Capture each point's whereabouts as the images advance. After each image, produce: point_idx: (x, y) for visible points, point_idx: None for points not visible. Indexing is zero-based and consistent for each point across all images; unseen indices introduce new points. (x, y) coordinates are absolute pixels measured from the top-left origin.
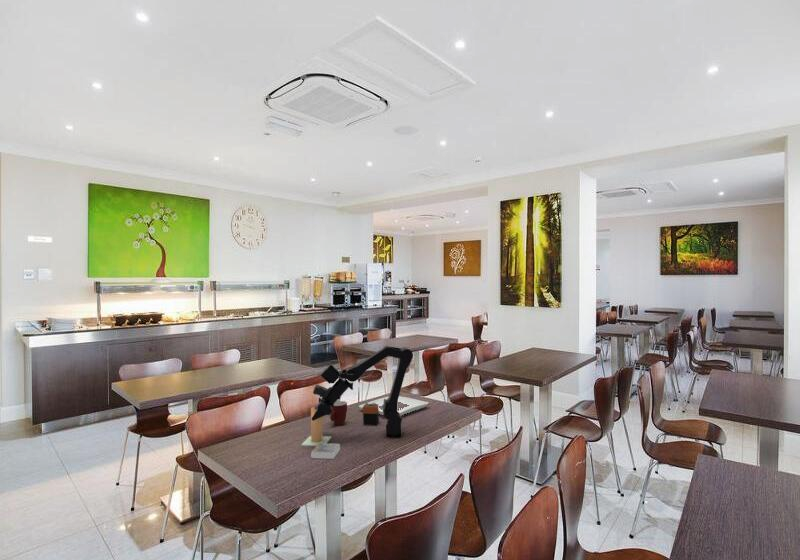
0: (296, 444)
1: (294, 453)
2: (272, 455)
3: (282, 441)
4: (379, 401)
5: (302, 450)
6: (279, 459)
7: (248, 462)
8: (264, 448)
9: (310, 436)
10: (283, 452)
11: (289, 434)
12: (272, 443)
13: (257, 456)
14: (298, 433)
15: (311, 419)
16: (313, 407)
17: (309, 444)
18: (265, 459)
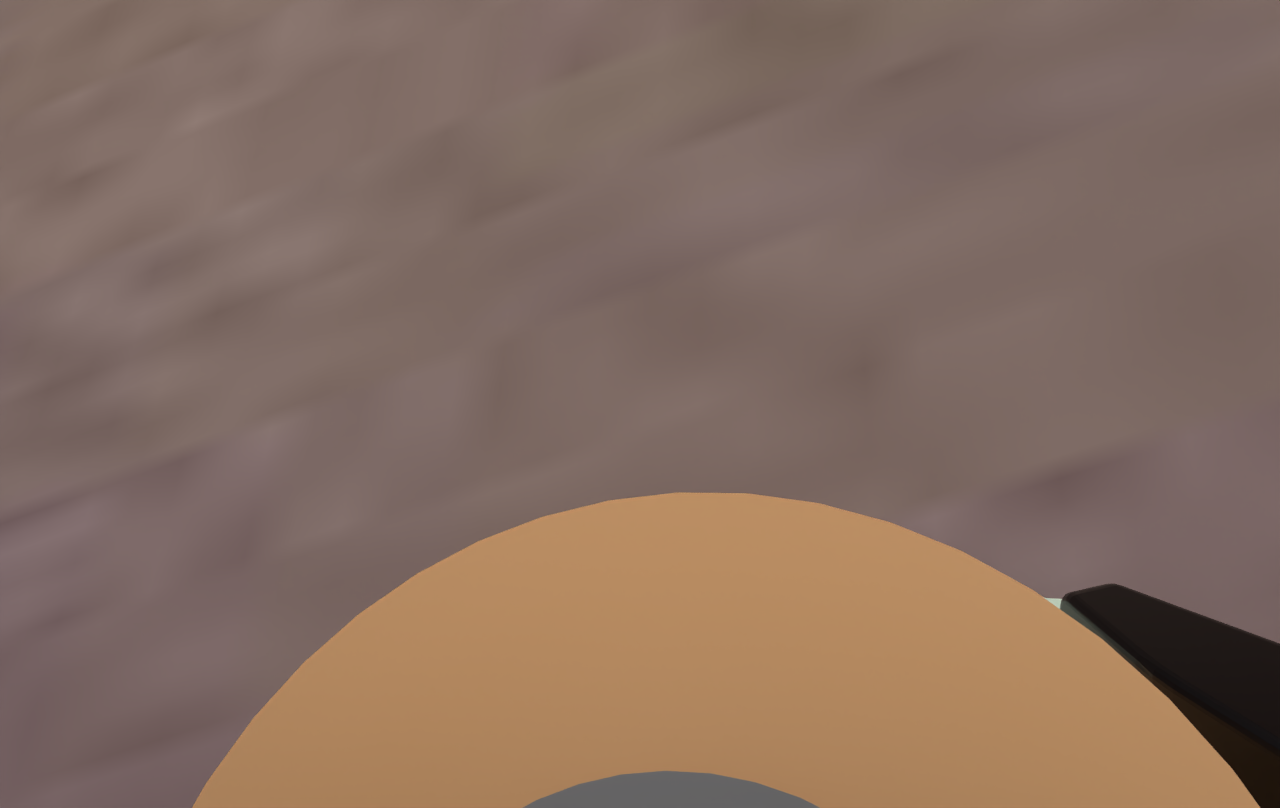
0: (629, 444)
1: (187, 556)
2: (190, 228)
3: (787, 144)
4: None
5: None
6: (3, 390)
7: (34, 36)
8: (490, 14)
9: None
10: (275, 347)
11: (1174, 125)
12: (694, 34)
13: (204, 52)
14: (1272, 271)
15: None
16: (893, 664)
17: None
18: (67, 193)
